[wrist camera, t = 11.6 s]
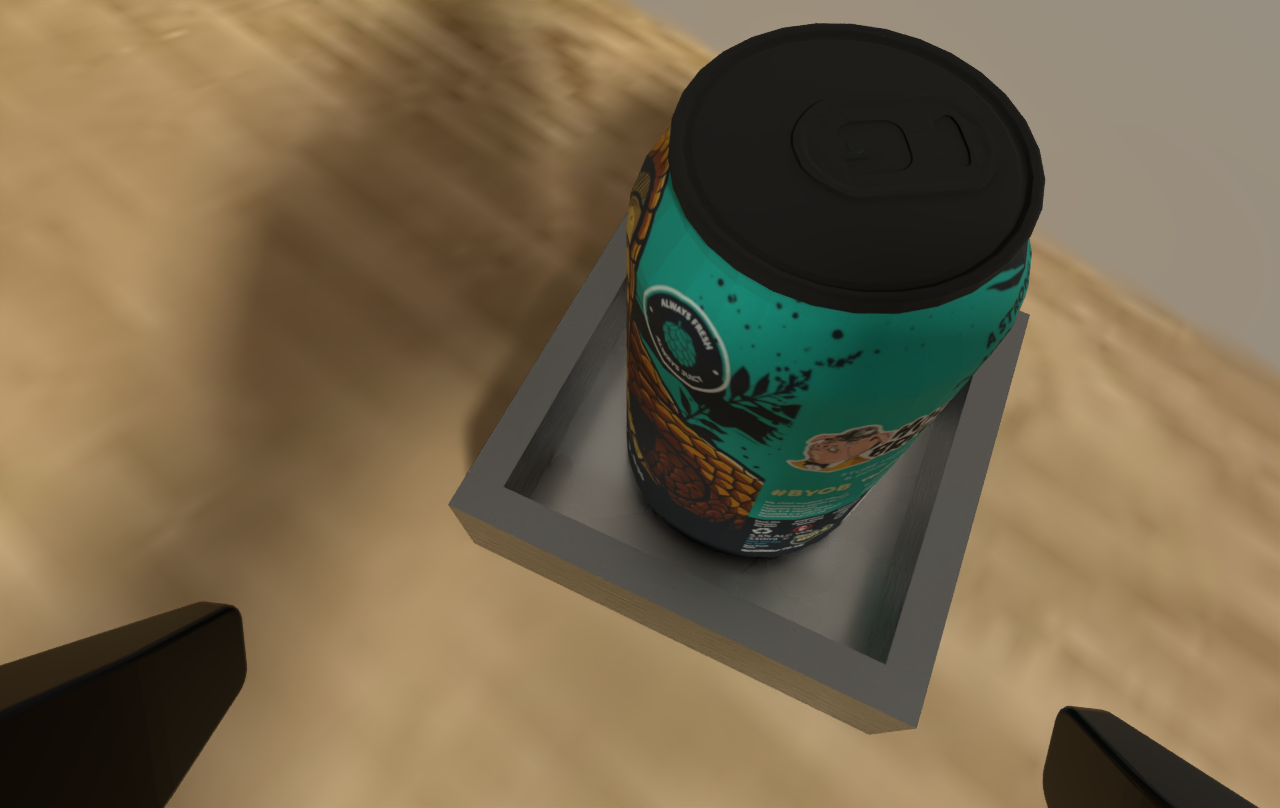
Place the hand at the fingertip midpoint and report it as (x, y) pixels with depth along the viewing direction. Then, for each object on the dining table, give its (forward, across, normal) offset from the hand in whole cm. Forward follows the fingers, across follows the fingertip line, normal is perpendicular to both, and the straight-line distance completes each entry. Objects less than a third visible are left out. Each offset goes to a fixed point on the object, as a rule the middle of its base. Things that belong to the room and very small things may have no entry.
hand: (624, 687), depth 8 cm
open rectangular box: (+15, -2, +2) cm, 15 cm away
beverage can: (+14, -2, +2) cm, 15 cm away
